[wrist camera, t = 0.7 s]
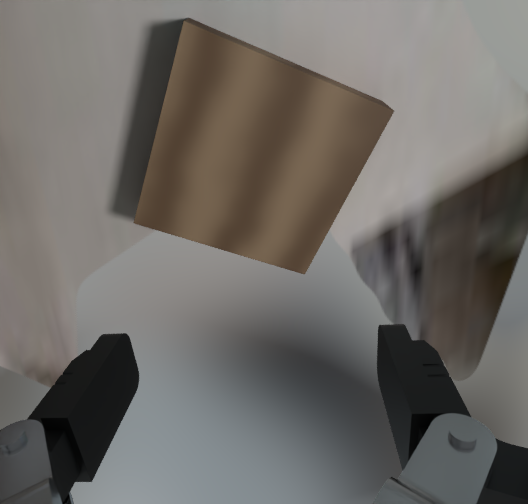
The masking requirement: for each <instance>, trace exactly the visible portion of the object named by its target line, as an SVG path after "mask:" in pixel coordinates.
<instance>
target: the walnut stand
mask: <svg viewBox="0 0 528 504" xmlns="http://www.w3.org/2000/svg"><path fill="white" fill-rule="evenodd" d="M393 112H394V110H392V109H391V108H390V107H389V106H388V105H386V104H385V103H384V102H383V101H381V100H378V99H376V98H374V97H371V96H369V95H367V94H364V93H362V92H360V91H357V90H355V89H353V88H350V87H348V86H346V85H343V84H341V83H339V82H336V81H334V80H332V79H330V78H327V77H325V76H323V75H320V74H318V73H316V72H313V71H311V70H309V69H306V68H304V67H302V66H299V65H297V64H295V63H292V62H290V61H288V60H285V59H283V58H281V57H278V56H276V55H274V54H272V53H269V52H267V51H265V50H262V49H260V48H258V47H255V46H253V45H251V44H248V43H246V42H244V41H241V40H239V39H237V38H234V37H232V36H230V35H227V34H225V33H223V32H221V31H218V30H216V29H214V28H211V27H209V26H207V25H204V24H202V23H200V22H197V21H195V20H193V19H190V18H188V19H186V20H184V22H183V26H182V30H181V34H180V38H179V42H178V46H177V50H176V54H175V58H174V62H173V66H172V70H171V74H170V78H169V82H168V86H167V90H166V94H165V98H164V102H163V106H162V110H161V115H160V119H159V123H158V127H157V131H156V135H155V139H154V143H153V147H152V151H151V155H150V159H149V163H148V167H147V171H146V175H145V179H144V183H143V187H142V191H141V195H140V199H139V203H138V207H137V212H136V216H135V220H134V223H135V224H138V225H142V226H145V227H148V228H152V229H155V230H158V231H162V232H165V233H168V234H172V235H175V236H178V237H182V238H185V239H188V240H192V241H195V242H198V243H202V244H205V245H208V246H212V247H215V248H218V249H222V250H225V251H228V252H232V253H235V254H238V255H241V256H245V257H248V258H251V259H255V260H258V261H261V262H265V263H268V264H272V265H275V266H278V267H281V268H285V269H288V270H292V271H295V272H298V273H301V274H305V273H306V271H307V269H308V268H309V266H310V264H311V262H312V260H313V258H314V256H315V255H316V253H317V251H318V249H319V247H320V246H321V244H322V242H323V240H324V238H325V236H326V234H327V233H328V231H329V229H330V227H331V225H332V224H333V222H334V220H335V218H336V216H337V215H338V213H339V211H340V209H341V207H342V205H343V204H344V202H345V200H346V198H347V196H348V194H349V193H350V191H351V189H352V187H353V185H354V183H355V182H356V180H357V178H358V176H359V174H360V173H361V171H362V169H363V167H364V165H365V163H366V162H367V160H368V158H369V156H370V154H371V152H372V151H373V149H374V147H375V145H376V143H377V141H378V140H379V138H380V136H381V134H382V132H383V130H384V129H385V127H386V125H387V123H388V121H389V120H390V118H391V116H392V114H393Z"/></svg>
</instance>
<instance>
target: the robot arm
mask: <svg viewBox="0 0 528 504" xmlns="http://www.w3.org/2000/svg"><path fill="white" fill-rule="evenodd" d="M377 374H378V381H379V386H380V390H381V394H382V397H383V401H384V405H385V408H386V411H387V415H388V419H389V423H390V426H391V430H392V433H393V437H394V441H395V444H396V448H397V452H398V455H399V459H400V463H401V466H402V470H403V472H402V473H401V475H400V477H399V478H398V479H395V478H393V477H391V478H389V479H388V480H387V481H386V482H385V484H384V485H383V487H382V488H381V490H380V492H379V493H378V495H377V497H376V498H375V500H374V502H373V503H372V504H528V448H524V447H519V446H516V445H511V444H508V443H505V442H503V441H500V440H498V439H496V438H495V437H494V435H493V434H492V432H491V431H490V430H489V429H488V428H487V427H486V426H485V425H483V424H482V423H481V422H479V421H478V420H476V419H474V418H472V417H471V416H470V414H469V412H468V410H467V408H466V406H465V404H464V402H463V400H462V398H461V396H460V394H459V393H458V390H457V389H456V387H455V385H454V383H453V381H452V379H451V377H449V373H448V371H447V369H446V367H445V366H444V363H443V362H442V360H441V358H440V356H439V354H438V352H437V351H436V350H435V349H434V348H433V347H432V346H430V345H429V344H428V343H427V342H426V341H424V340H416V341H412V339H411V337H410V335H409V333H408V330H407V328H406V326H405V325H404V324H395V325H379V327H378V350H377ZM138 383H139V371H138V367H137V363H136V360H135V356H134V352H133V349H132V345H131V341H130V338H129V336H128V335H127V334H125V333H123V334H103V335H101V336H100V337H99V339H98V340H97V341H96V343H95V344H94V345H93V347H92V348H91V350H86V351H84V352H83V353H82V354H80V355H79V356H78V357H76V358H75V359H74V360H72V361H71V363H70V364H69V365H68V367H67V368H66V369H65V371H64V372H63V375H61V376H60V377H59V378H58V380H57V381H56V382H55V385H53V386H52V387H51V389H50V390H49V391H48V393H47V394H46V395H45V397H44V398H43V399H42V401H41V402H40V403H39V405H38V406H37V407H36V408H35V410H34V411H33V412H32V414H31V415H30V416H29V417H28V419H27V420H22V421H18V422H15V423H13V424H10V425H9V426H6V427H5V428H3V429H1V430H0V504H74V503H73V498H72V495H71V493H70V490H71V488H72V487H73V484H74V483H75V482H92V480H93V478H94V476H95V474H96V472H97V470H98V468H99V466H100V464H101V462H102V460H103V458H104V456H105V454H106V452H107V450H108V448H109V446H110V444H111V441H112V439H113V438H114V435H115V433H116V431H117V429H118V427H119V425H120V423H121V421H122V419H123V417H124V415H125V413H126V411H127V409H128V407H129V405H130V403H131V401H132V399H133V397H134V395H135V393H136V391H137V388H138Z"/></svg>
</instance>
